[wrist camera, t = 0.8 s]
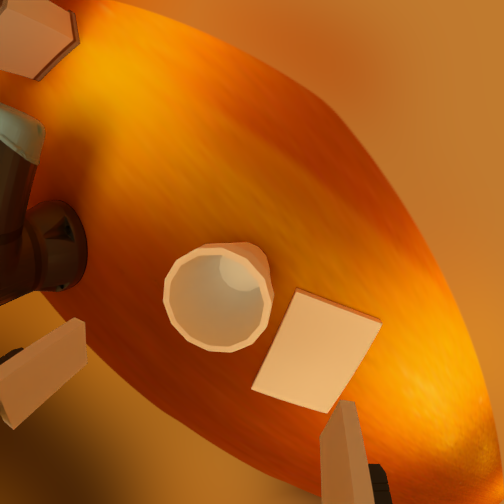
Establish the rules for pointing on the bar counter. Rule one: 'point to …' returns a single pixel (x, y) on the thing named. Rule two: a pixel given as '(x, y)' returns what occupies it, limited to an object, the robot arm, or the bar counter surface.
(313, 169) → the bar counter surface
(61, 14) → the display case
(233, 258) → the foam cup
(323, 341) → the tile
